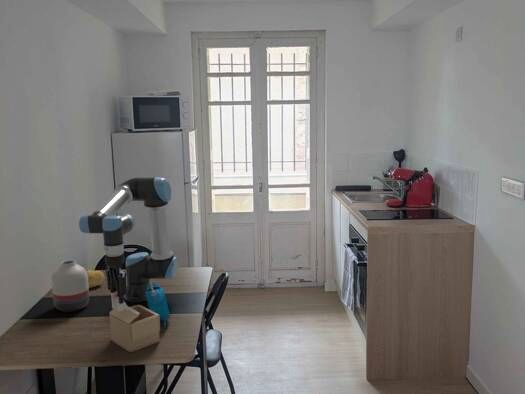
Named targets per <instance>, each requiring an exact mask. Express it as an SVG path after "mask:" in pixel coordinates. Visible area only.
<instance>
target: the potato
mask: <svg viewBox="0 0 525 394" xmlns="http://www.w3.org/2000/svg"><path fill="white" fill-rule="evenodd" d="M86 272H87V275H88V286H89V289H90V288H94V287H98V286H99V285H101V284H102V283H103V281H104V279H105V274H104V272H103V271H101V270H91V269H89V270H86Z"/></svg>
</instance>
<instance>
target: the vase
mask: <svg viewBox="0 0 525 394" xmlns="http://www.w3.org/2000/svg"><path fill="white" fill-rule="evenodd" d="M86 271H87V270H86V269H85V268H84V267H83V266H81V265H80V264H78V263H76V260H74V259H73V260H72V259H68V260H64V261H62V262H61V264H60V265H59V267H57V268H56V269H54V271H53V273H52V274H51V294H52V302H53V305H54V307H55V309H56V310H57V311H59V312H63V313H65V312H66V313H70V312H77V311H80V310H83V309H84V308H86V306H87V305H88V304H89V301H90V290H89V289H90V288H89V286H88V275H87V272H86Z"/></svg>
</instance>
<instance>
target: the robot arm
mask: <svg viewBox="0 0 525 394" xmlns="http://www.w3.org/2000/svg"><path fill="white" fill-rule="evenodd" d="M171 198H172V187H171V184H170V182H169V180H168V179H167V178H165V177H132V178H129V179H128V180H125V181H124V182H121V183H120V184H119V185H118V186H116V187H115V188H114V190H113V194H111V195H110V196H108V198H106V200H105V201H104V202H103V203H101V205H100V206H99V207H97V209H95V211H94V212H92V214H91V215H89V214H86V215H81V217H80V218H79V220H78V221H79V222H78V226H79V230H80V232H81V233H83V234H103V235H102V236H103V237H102V238H103V251H104V263H105V265H106V266H105V267H104V270H105V273H106V284H107V290H108V291H109V292H110V293H111V294H110V295H111V297H110V299H111V305H112V306H111V308H112V310H113V309H114V308H117V311H118V312H119V311H122V310H124V302H129V303H142V302H147V298H146V292H147V286H148V285H149V284H150V281H151V280H165V281H166V280H172V279H174V278H175V277H176V274H177V272H178V269H179V268H178V267H179V259H178V257H177V256H174V252H173V250H170V239H169V228H168V219H167V209H166V207H167V206H168V204H169V202H170V201H171V200H172V199H171ZM131 202H143V206H144V207H145V208H146V209H147V211H148V212H147V213H148V214H147V215H148V222H149V229H150V231H149V232H150V239H151V240H150V241H151V248H152V252H151V253H150V254H149V253H148V252H146V251H145V252H144V251H142V252H135V253H133V254H130V255H128V256H127V257H126V259H125V254H124V253H125V251H124V250H125V248H124V247H125V246H124V245H125V244H124V235H126V234H128V233H130V232H131V231H132V230H133V229H134V228H135V226H136V221H135V218H134V217H133V216H132V215H131V214H128V213H125V214H121V215H117V214H118V213H119V212H120V211H121V210H122V209H123V207H125V205H129V204H131ZM124 263H125V271H123V266H122V265H123V264H124ZM116 292H117V295H116V298H117V300H116V299H115V293H116Z"/></svg>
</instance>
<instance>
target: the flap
mask: <svg viewBox="0 0 525 394" xmlns="http://www.w3.org/2000/svg"><path fill="white" fill-rule="evenodd" d="M116 295H117V291H116V293H115V299H116V300H117V298H116ZM130 307H131V306H128V304H127V303H126V301H124V310H122V311H119V312H118V311H117V308H114V309H113V308H112V310H111V311H109V312H108V314H111V315H113V316H115V317H116V318H118V319H120V320H122V321H123V322H125V323H127V324H130V323H131V322H132V321H133V320H134V319H135V318H136V317H138V316H139V315H140V313H139V312H137V311H136V310H134V309H132V308H130Z"/></svg>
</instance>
